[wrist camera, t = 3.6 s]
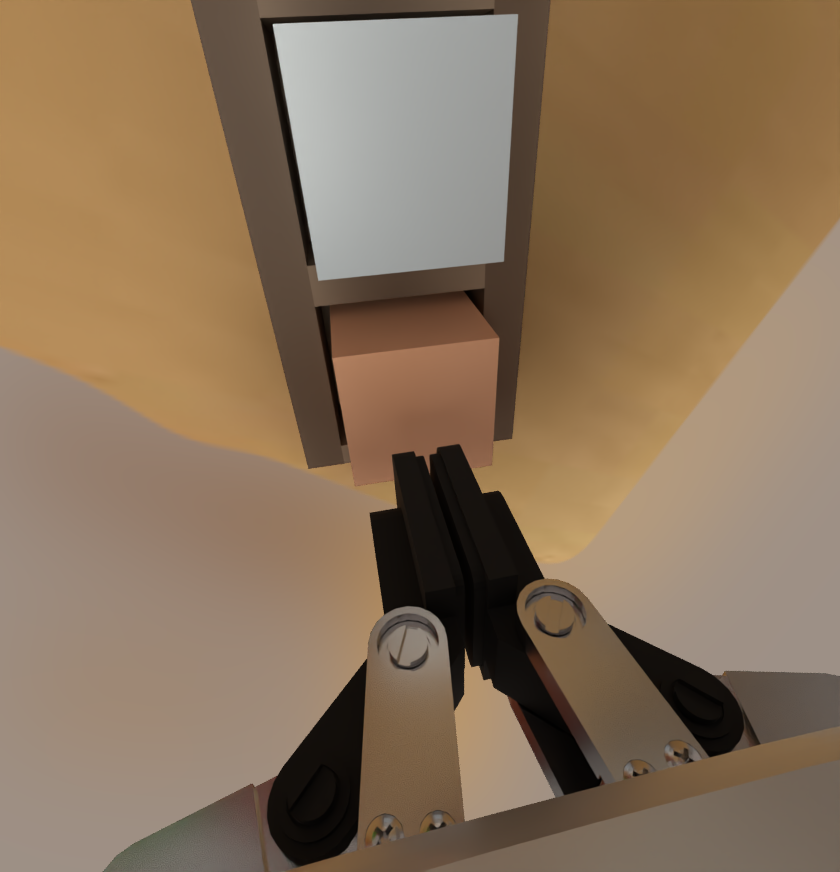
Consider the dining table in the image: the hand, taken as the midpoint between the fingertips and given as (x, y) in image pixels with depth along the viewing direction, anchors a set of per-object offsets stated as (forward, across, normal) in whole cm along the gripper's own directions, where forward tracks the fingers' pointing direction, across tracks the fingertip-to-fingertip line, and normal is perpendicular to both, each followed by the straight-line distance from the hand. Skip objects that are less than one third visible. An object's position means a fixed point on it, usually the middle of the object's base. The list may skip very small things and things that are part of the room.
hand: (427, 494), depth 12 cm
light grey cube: (+7, 0, -7) cm, 10 cm away
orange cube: (+7, 0, -1) cm, 7 cm away
